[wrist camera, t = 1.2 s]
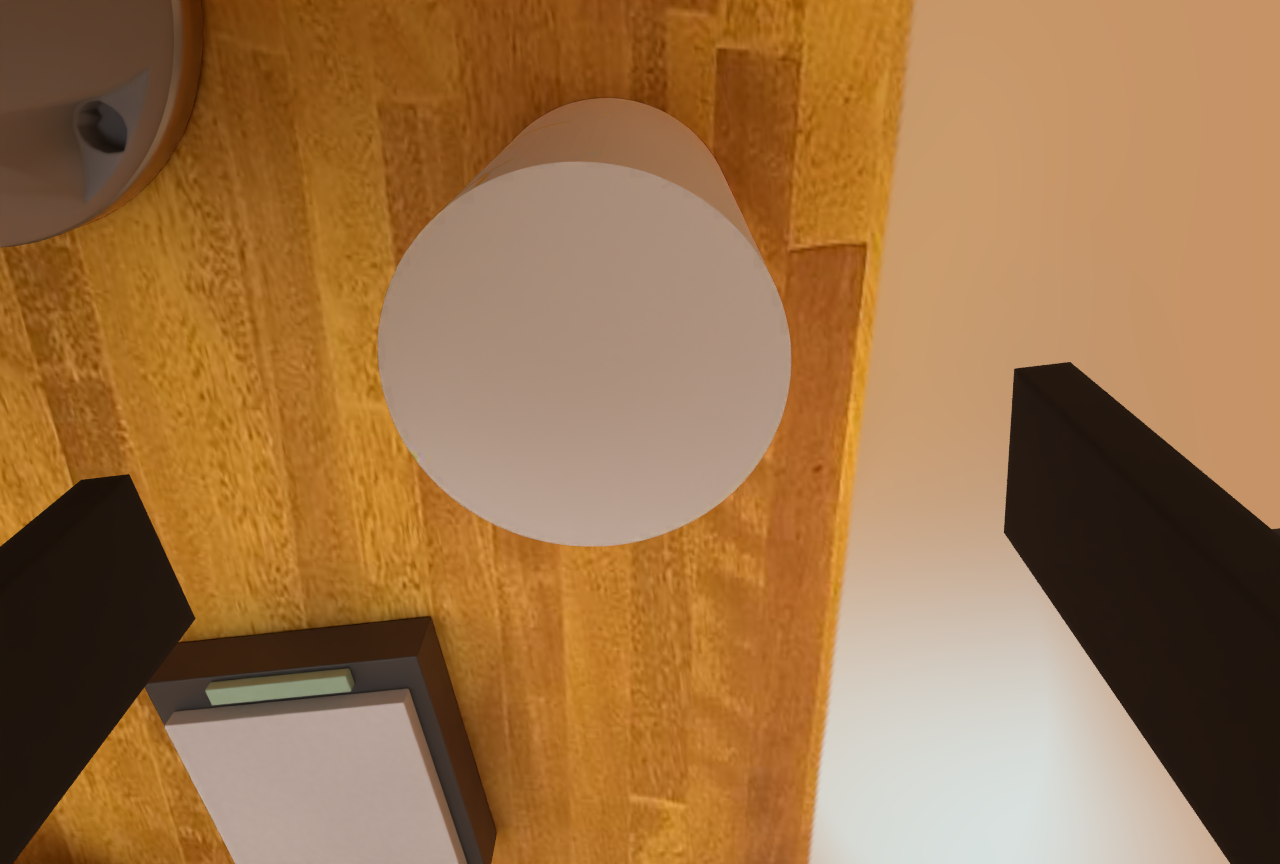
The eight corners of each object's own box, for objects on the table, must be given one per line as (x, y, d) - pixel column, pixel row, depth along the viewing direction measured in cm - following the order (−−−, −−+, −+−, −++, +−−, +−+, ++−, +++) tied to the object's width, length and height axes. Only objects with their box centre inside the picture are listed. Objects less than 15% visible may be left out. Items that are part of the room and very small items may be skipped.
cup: (507, 66, 25) (406, 107, 15) (767, 137, 26) (851, 226, 15) (464, 318, 29) (357, 501, 18) (694, 373, 30) (722, 580, 19)
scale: (172, 642, 35) (130, 699, 32) (431, 615, 35) (411, 670, 32) (273, 852, 41) (245, 916, 38) (497, 833, 40) (485, 896, 37)
